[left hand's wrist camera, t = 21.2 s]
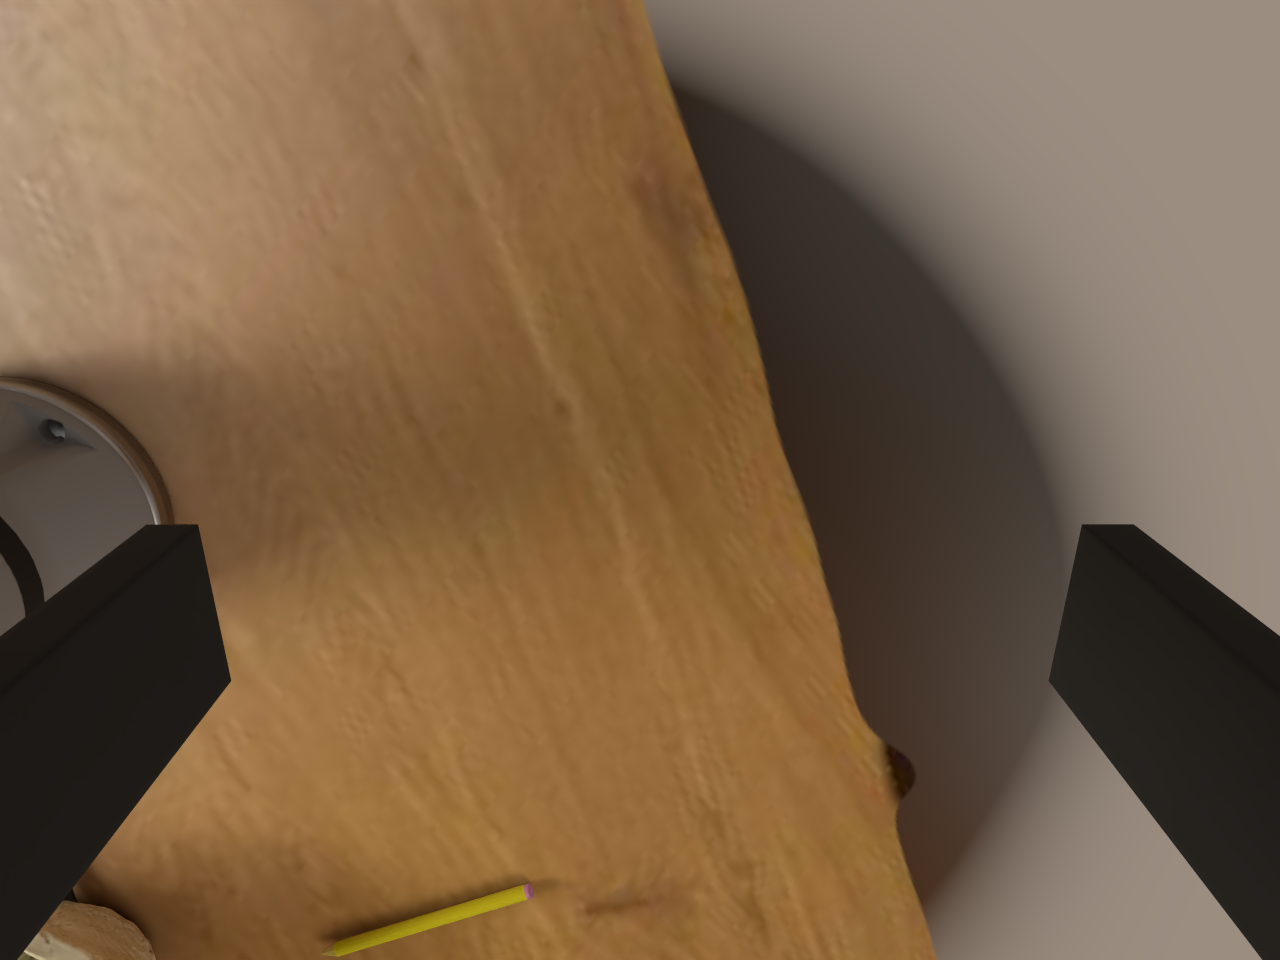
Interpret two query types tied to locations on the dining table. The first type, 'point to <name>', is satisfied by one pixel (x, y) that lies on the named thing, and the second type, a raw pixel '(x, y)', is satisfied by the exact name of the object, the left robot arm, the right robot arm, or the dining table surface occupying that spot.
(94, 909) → the bowl
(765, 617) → the dining table surface
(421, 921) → the pencil
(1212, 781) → the left robot arm
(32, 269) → the dining table surface
